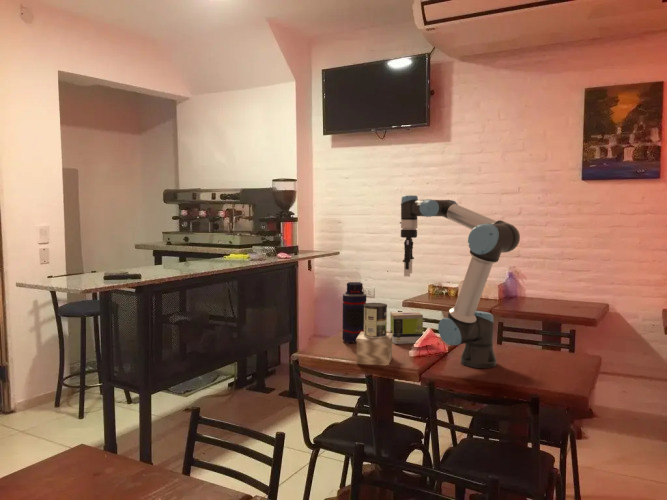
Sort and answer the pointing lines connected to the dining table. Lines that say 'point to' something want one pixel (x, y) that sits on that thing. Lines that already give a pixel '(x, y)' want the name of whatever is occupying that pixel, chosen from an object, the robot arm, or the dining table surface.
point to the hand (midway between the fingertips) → (408, 274)
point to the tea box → (406, 327)
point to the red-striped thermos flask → (353, 311)
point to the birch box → (374, 350)
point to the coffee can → (375, 320)
